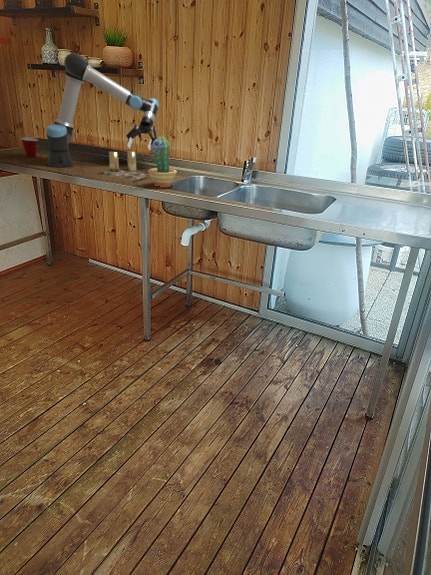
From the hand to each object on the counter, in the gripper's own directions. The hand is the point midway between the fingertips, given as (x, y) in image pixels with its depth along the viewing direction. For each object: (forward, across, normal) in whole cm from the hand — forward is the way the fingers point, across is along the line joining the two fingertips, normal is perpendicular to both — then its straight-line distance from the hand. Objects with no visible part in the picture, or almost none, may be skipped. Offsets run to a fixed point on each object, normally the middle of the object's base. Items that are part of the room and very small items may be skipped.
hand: (138, 148), depth 247 cm
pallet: (+27, -2, +9) cm, 29 cm away
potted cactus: (+34, -29, +15) cm, 47 cm away
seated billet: (+26, +5, +9) cm, 27 cm away
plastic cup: (+6, +82, -13) cm, 83 cm away
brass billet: (+15, +1, -3) cm, 16 cm away
